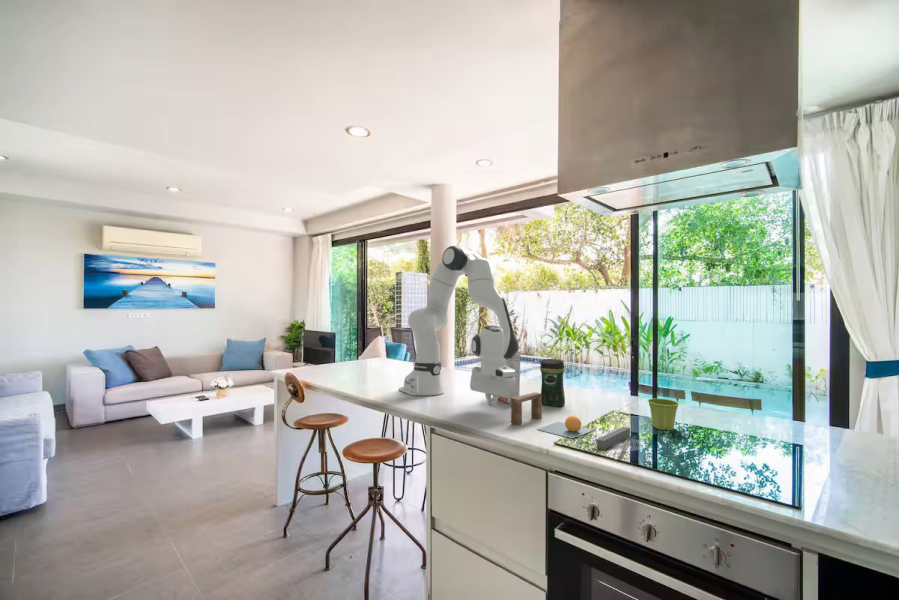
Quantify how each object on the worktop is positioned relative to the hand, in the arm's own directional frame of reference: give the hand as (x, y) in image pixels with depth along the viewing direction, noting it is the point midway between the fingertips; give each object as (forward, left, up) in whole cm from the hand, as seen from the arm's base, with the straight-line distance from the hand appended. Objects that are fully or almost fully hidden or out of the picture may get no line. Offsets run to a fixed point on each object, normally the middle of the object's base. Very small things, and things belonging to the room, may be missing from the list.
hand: (492, 406), depth 154 cm
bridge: (+15, 0, -3) cm, 16 cm away
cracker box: (-10, +21, -3) cm, 23 cm away
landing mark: (+30, 0, -3) cm, 30 cm away
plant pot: (+51, +26, -3) cm, 58 cm away
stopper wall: (+46, 0, -3) cm, 46 cm away
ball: (+33, +1, 0) cm, 33 cm away
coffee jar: (+8, +28, -3) cm, 30 cm away
